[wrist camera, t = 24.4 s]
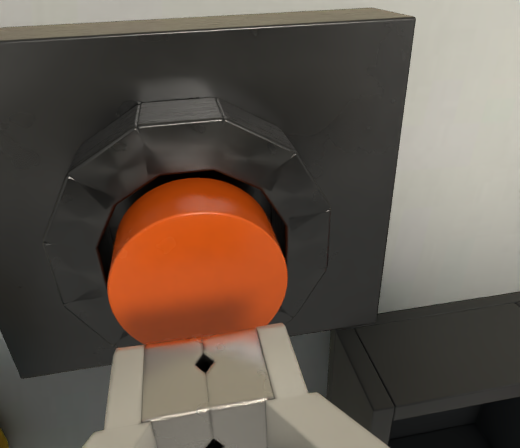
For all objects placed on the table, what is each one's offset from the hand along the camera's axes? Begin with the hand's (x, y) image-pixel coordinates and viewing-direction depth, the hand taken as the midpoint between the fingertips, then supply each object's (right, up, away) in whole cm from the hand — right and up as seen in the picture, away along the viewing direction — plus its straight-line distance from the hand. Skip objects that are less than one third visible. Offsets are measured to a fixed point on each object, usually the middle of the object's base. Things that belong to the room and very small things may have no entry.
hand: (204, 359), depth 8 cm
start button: (-1, +2, +3) cm, 4 cm away
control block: (-1, +4, +7) cm, 8 cm away
